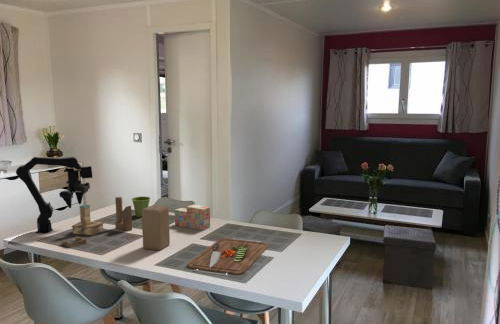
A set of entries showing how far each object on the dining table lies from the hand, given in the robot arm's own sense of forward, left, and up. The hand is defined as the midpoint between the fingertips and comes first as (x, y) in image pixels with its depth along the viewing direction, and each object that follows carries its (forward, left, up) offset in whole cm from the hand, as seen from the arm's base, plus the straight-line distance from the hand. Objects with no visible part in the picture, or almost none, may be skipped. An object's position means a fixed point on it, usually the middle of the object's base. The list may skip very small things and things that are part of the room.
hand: (75, 206), depth 239 cm
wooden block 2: (+28, +3, -13) cm, 31 cm away
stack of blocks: (+65, +15, -13) cm, 68 cm away
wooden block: (+59, -22, -13) cm, 64 cm away
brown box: (+11, -5, -13) cm, 18 cm away
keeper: (+15, -25, -13) cm, 32 cm away
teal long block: (+11, -7, -8) cm, 16 cm away
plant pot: (+25, +32, -13) cm, 43 cm away
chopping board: (+98, -27, -14) cm, 103 cm away
